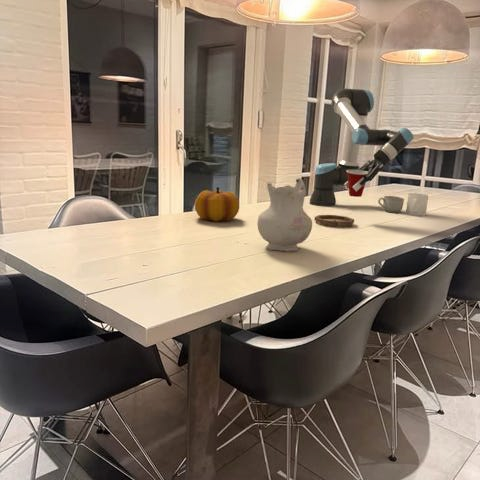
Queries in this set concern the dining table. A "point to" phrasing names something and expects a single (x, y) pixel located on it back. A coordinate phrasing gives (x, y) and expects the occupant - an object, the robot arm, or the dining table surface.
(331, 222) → the octagonal wooden tray
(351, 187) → the plastic cup
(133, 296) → the dining table surface
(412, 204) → the mug
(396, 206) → the teacup
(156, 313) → the dining table surface
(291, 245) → the ceramic pitcher
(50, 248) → the dining table surface
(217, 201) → the decorative pumpkin
